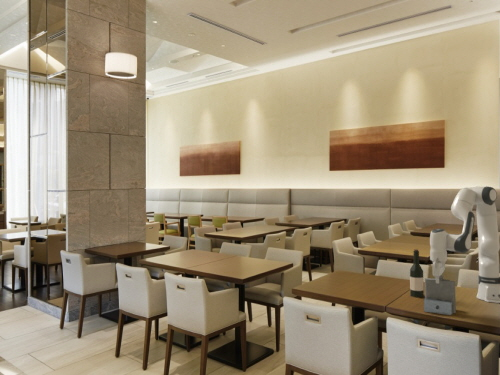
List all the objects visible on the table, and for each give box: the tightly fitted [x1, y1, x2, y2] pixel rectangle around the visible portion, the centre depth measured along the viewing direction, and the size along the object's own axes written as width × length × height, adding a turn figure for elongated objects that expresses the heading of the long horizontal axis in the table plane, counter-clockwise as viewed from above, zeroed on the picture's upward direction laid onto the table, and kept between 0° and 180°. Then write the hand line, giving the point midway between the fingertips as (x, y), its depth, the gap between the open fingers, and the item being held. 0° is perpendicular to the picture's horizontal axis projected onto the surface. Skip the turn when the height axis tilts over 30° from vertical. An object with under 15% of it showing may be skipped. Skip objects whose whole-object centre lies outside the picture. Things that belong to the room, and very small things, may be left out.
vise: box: [423, 297, 453, 316], centre depth 229 cm, size 14×14×7 cm
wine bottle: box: [409, 248, 425, 298], centre depth 261 cm, size 8×8×30 cm
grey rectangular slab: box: [424, 274, 457, 314], centre depth 230 cm, size 16×4×20 cm, turn 56°
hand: (438, 281), depth 230 cm, fingers open, 8 cm apart
